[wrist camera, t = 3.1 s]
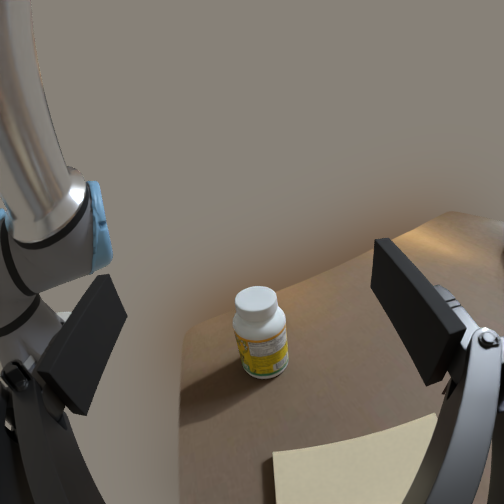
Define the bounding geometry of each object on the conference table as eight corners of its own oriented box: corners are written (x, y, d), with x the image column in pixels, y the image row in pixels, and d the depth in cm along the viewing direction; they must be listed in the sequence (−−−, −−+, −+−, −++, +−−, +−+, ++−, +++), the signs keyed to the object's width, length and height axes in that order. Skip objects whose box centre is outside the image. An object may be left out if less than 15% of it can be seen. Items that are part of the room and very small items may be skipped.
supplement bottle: (290, 378, 29) (286, 313, 24) (241, 382, 29) (225, 319, 25) (286, 343, 34) (281, 279, 29) (243, 347, 34) (229, 284, 30)
